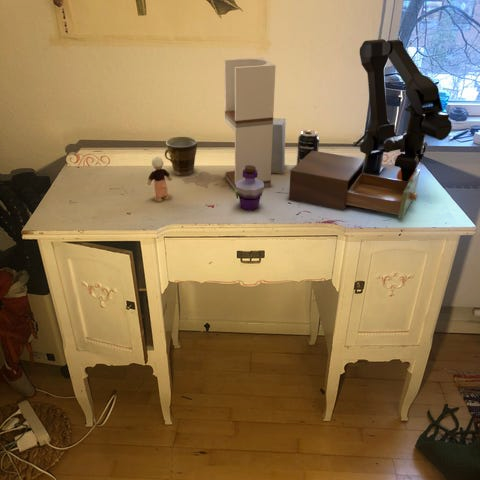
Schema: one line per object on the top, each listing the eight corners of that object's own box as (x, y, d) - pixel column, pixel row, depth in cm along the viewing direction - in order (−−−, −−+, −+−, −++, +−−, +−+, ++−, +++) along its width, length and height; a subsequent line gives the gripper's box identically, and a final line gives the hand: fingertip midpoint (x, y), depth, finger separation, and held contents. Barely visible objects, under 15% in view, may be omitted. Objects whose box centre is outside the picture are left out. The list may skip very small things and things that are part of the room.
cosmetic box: (282, 174, 173) (284, 125, 164) (260, 172, 174) (262, 123, 165) (285, 165, 180) (288, 117, 170) (264, 163, 181) (266, 116, 171)
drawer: (360, 184, 165) (363, 160, 160) (420, 195, 159) (425, 170, 154) (343, 206, 152) (346, 181, 147) (408, 219, 145) (413, 194, 141)
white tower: (258, 174, 173) (262, 57, 152) (270, 186, 165) (275, 65, 144) (225, 178, 171) (224, 59, 149) (235, 191, 163) (235, 67, 141)
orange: (397, 180, 168) (401, 161, 164) (416, 184, 166) (421, 164, 162) (393, 187, 164) (397, 167, 160) (412, 191, 162) (417, 171, 158)
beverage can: (305, 163, 181) (308, 128, 174) (320, 169, 177) (324, 133, 170) (291, 168, 177) (294, 132, 170) (307, 174, 173) (310, 137, 166)
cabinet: (309, 177, 171) (311, 150, 166) (360, 187, 165) (365, 159, 160) (288, 199, 158) (290, 170, 152) (343, 210, 152) (347, 180, 147)
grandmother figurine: (166, 193, 161) (163, 152, 153) (174, 197, 159) (171, 155, 151) (146, 200, 157) (141, 159, 149) (154, 204, 154) (150, 162, 147)
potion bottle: (230, 203, 156) (229, 163, 148) (256, 198, 158) (257, 159, 151) (241, 215, 149) (242, 174, 142) (269, 210, 152) (270, 169, 145)
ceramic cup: (181, 164, 180) (180, 134, 174) (204, 170, 176) (203, 140, 169) (155, 175, 172) (152, 145, 166) (178, 183, 167) (176, 152, 161)
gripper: (395, 117, 164) (387, 166, 173) (381, 135, 150) (372, 186, 160) (432, 122, 160) (421, 172, 170) (421, 141, 147) (410, 193, 156)
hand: (405, 180), depth 164 cm, fingers closed on orange, 6 cm apart
